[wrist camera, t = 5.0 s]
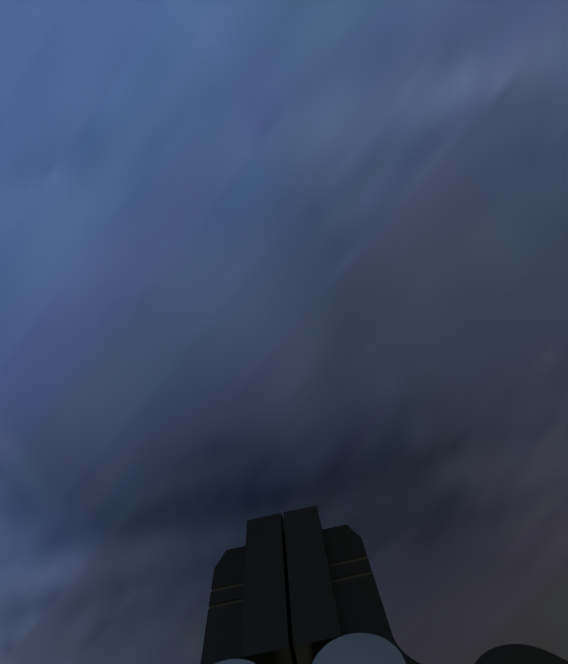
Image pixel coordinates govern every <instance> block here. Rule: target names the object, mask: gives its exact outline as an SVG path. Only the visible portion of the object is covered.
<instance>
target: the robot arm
mask: <svg viewBox="0 0 568 664" xmlns="http://www.w3.org/2000/svg"><path fill="white" fill-rule="evenodd" d="M209 607H210V609H208V616H207V623H206V630H205V637H204V644H203V651H202V658H201V664H420V663H418V662H416V661H415V660H413V659H411V658H410V657H409V656H407V655H406V654H405V653H404V652H403V651H402V650H401V649H400V648H399V646H398V645H397V643H396V642H395V640H394V638H393V635H392V633H391V630H390V626H389V623H388V620H387V617H386V614H385V611H384V608H383V605H382V601H381V598H380V595H379V592H378V589H377V586H376V583H375V579H374V576H373V574H372V570H371V567H370V564H369V561H368V558H367V554H366V551H365V548H364V545H363V542H362V539H361V537H360V536H359V535H358V534H356V533H355V532H354V531H353V530H352V529H351V528H350V527H348V526H347V525H343V526H338V527H333V528H329V529H324V530H322V528H321V523H320V518H319V514H318V509H317V506H312V507H307V508H303V509H298V510H293V511H288V512H284V520H283V517H282V514H281V513H280V514H275V515H270V516H265V517H261V518H256V519H251V520H248V521H247V535H246V546H244V547H239V548H234V549H230V550H226V552H225V553H224V555H223V556H222V558H221V559H220V561H219V562H218V564H217V565H216V567H215V568H214V574H213V581H212V592H211V595H210V602H209ZM475 664H568V661H566V660H564V659H562V658H560V657H558V656H556V655H554V654H552V653H550V652H548V651H545V650H543V649H540V648H537V647H533V646H528V645H522V644H510V645H502V646H499V647H495V648H493V649H491V650H488V651H487V652H486V653H484V654H483V655H482V656H481V657H480V658H479V659H478V660H477V661H476V663H475Z"/></svg>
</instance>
